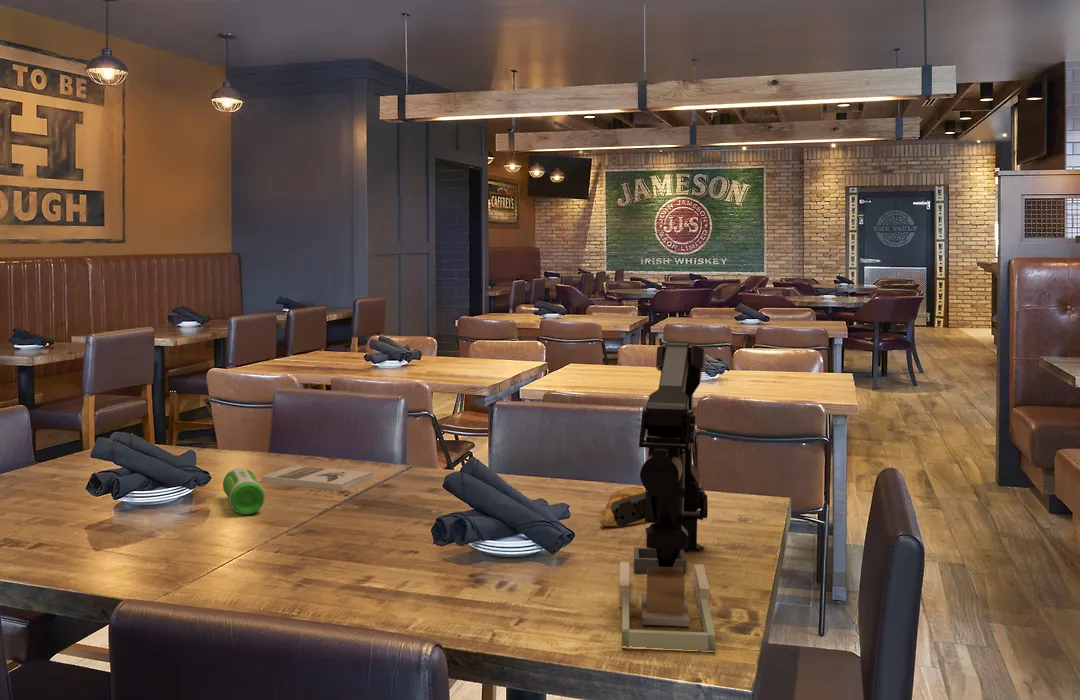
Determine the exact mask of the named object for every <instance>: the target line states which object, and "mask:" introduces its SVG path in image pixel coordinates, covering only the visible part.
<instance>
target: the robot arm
mask: <svg viewBox="0 0 1080 700" xmlns="http://www.w3.org/2000/svg"><path fill="white" fill-rule="evenodd" d="M655 368H656V370H657V371H659V372H660V379H659V383H658V388H657V390H655V391H653V392H652V393H651V394H649V395H648V398H647V404H646V407H645V406H644V407H642V412H641V420H640V431H639V440H638V441H639V442H638V448H645V449H648V451H647V452H648V453H647V455H648V456H647V457H646V459H645V461H644V463H643V465H642V466H641V469H640V472H639V478H640V482H641V484H642V486H643V487H644V490H645V493H641V494H638V495H633V496H630V497H627V498H624V499H621V500H618V501H615V502H613V503H612V504H611V510H612V513H613V516H614V519H615V521H616V524H617V526H616V527H617V528H623V527H626V526H628V525H627V524H629V523H632V522H636V521H639V520H642V519H645V522H644V523H646V524H650V525H649V526H648V527H645V544H646V548H650V549H656V553H657V559H658V564H659V567H673V565H674V563H675V561H676V559H677V556H678V554H679V552H680V550H684V552H685V553H686V552H687V553H689V552H698V551H703V550H704V549H705V548H704V547H705V546H702V545H700V544H699V543H698V542H697V541H698V520H700V521H703V520H704V519H708V504H709V503H708V495H707V494H706V491H705V488H704V487H702V486H701V483H702V482H701V480H702V478H701V475H700V473H699V471H698V469H697V468H696V467H695V465H694V464H693V444H694V443H695V437H696V436H695V435H696V434H695V433H696V424H697V417H696V415H695V414H694V411H693V409H694V405H693V403H694V402H693V401H694V399H693V398H694V394H695V392H696V390H697V389H698V388H699V386H700V384H701V379H702V374H703V373H705V371H706V351H705V348H703V347H700V346H697V345H694V344H693V343H692V342H691V343H690V342H689V341H679V340H678V341H677V340H676V341H675V340H674V341H673V340H667V341H666V342H663V344H662V345H660V346H658V347H656V361H655Z"/></svg>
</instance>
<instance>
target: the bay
mask: <svg viewBox="0 0 1080 700" xmlns="http://www.w3.org/2000/svg"><path fill="white" fill-rule="evenodd" d="M621 608H622V609H621V610H622V611H621V612H622V617H621V621H622V623H621V647H622V646H626V647H629V646H632V647H646V648H663V649H683V650H698V651H715V652H716V632H715V628H714V627H715V626H714V624H713V619H712V616H711V610H710V605H709V606H708V602H707V599H700V610H699V616H700V615H701V617H700V621H701V620H702V622H701V626H702V625H703V627H702V632H701V631H700V632H699V631H682V630H681V631H677V630H676V631H675V630H652V629H648V630H647V629H631V628H630V595H629V596H623V601H622V607H621ZM703 630H704V632H703Z"/></svg>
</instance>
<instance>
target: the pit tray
mask: <svg viewBox="0 0 1080 700" xmlns="http://www.w3.org/2000/svg"><path fill="white" fill-rule="evenodd" d="M647 566H657V567H659V564H658V559H657V553H656V549H650V548H647V547H639V546H637V547H636V546H634V547H633V573H634V574H647ZM673 567H683V573H684V574H686V575H687V557H686V552H684V550H680V552H679V554H678V556H677V559H676V561H675V563H674V565H673Z"/></svg>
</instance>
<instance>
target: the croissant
mask: <svg viewBox="0 0 1080 700" xmlns="http://www.w3.org/2000/svg"><path fill="white" fill-rule="evenodd" d="M641 493H645V488H642V487H637V486H630V487H629V486H627V487H626V488H622V489H621V488H620V489H618V490H616V491H615V492H613V494H611V495H610V497H609V498H608V500H607V503H606V506H605V508H604V509H603V511H602V515H601V516H600V524H601V525H602V526H603V527H617V524H616V521H615V519H614V516H613V513H612V510H611V504H612V503H613V502H615V501H618V500H621V499H624V498H627V497H630V496H633V495H638V494H641ZM639 523H640V524H643V523H646V522H645V519H642V520H639V521H636V522H632V523H629V524H627V525H626V526H633V524H635V525H639Z"/></svg>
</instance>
